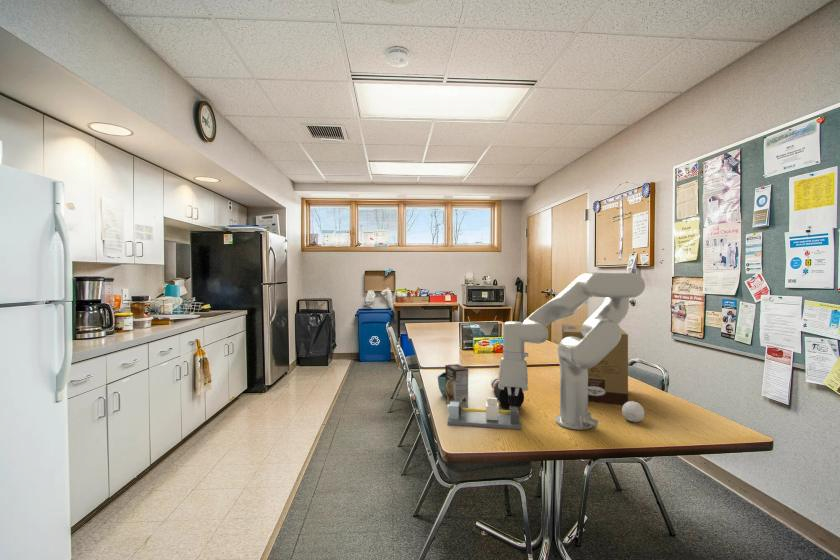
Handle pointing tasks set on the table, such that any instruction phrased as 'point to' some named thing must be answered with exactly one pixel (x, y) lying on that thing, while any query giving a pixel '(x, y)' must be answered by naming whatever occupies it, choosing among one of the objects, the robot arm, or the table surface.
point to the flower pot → (442, 383)
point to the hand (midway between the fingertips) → (512, 405)
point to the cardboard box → (606, 371)
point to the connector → (454, 410)
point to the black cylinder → (505, 394)
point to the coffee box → (456, 384)
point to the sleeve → (492, 409)
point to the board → (480, 420)
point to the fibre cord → (483, 410)
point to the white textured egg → (633, 411)
